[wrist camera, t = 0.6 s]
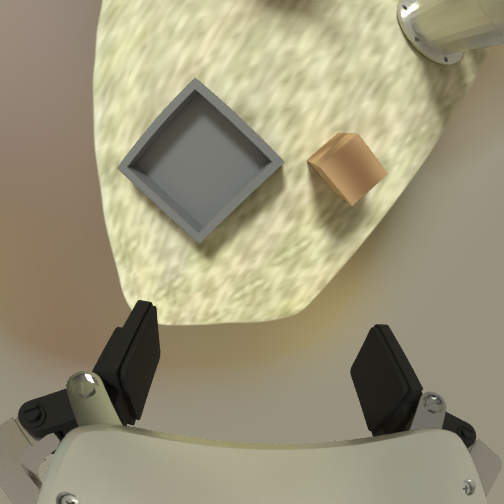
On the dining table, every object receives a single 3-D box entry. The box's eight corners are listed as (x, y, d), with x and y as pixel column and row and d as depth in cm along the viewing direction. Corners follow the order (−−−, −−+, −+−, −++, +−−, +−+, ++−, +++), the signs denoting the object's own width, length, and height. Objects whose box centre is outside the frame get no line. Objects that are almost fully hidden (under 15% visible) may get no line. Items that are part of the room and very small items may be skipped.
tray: (200, 82, 28) (195, 77, 25) (281, 159, 33) (284, 162, 29) (128, 164, 32) (116, 168, 29) (203, 233, 37) (199, 244, 33)
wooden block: (337, 132, 31) (358, 133, 25) (363, 165, 33) (387, 173, 26) (306, 160, 33) (320, 167, 26) (334, 191, 34) (352, 206, 28)
